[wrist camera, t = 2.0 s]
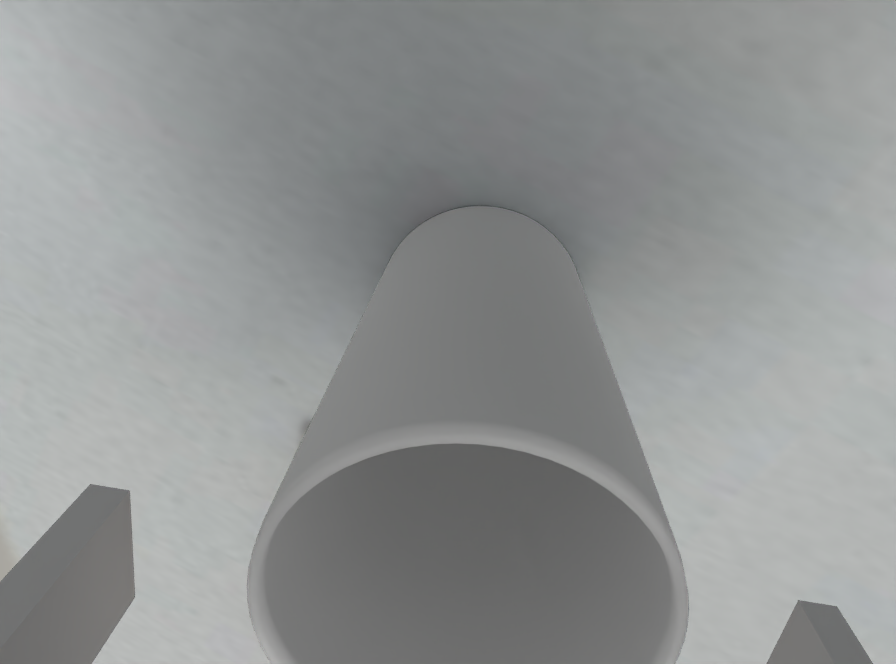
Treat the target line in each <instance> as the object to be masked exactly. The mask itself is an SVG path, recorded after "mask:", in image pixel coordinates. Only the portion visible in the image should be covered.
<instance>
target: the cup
mask: <svg viewBox="0 0 896 664" xmlns="http://www.w3.org/2000/svg"><path fill="white" fill-rule="evenodd" d="M247 600H248V606H249V613H250V617H251V621H252V624H253V628H254V631H255V634H256V636H257V638H258V641H259V643H260V645H261V647H262V649H263V651H264V653H265V655H266V656H267V658H268V660H269V661H270V663H271V664H675V663H676V661H677V659H678V657H679V654H680V652H681V649H682V646H683V643H684V640H685V635H686V631H687V626H688V615H689V600H688V589H687V584H686V579H685V574H684V569H683V564H682V559H681V556H680V553H679V550H678V547H677V544H676V541H675V538H674V536H673V533H672V530H671V527H670V525H669V522H668V519H667V516H666V514H665V511H664V508H663V505H662V503H661V500H660V497H659V494H658V492H657V489H656V486H655V483H654V480H653V478H652V475H651V472H650V469H649V467H648V464H647V461H646V458H645V456H644V453H643V450H642V448H641V445H640V442H639V439H638V437H637V434H636V431H635V428H634V426H633V423H632V420H631V418H630V415H629V412H628V409H627V407H626V404H625V401H624V399H623V396H622V393H621V390H620V388H619V385H618V382H617V379H616V377H615V374H614V371H613V369H612V366H611V363H610V360H609V358H608V355H607V352H606V349H605V347H604V344H603V341H602V339H601V336H600V333H599V330H598V328H597V325H596V322H595V319H594V317H593V314H592V311H591V309H590V306H589V303H588V300H587V298H586V295H585V292H584V290H583V287H582V284H581V281H580V279H579V276H578V273H577V270H576V268H575V265H574V263H573V261H572V259H571V257H570V256H569V254H568V252H567V251H566V249H565V248H564V247H563V245H562V244H561V243H560V241H559V240H558V239H557V238H556V237H555V236H554V235H553V234H552V233H551V232H550V231H548V230H547V229H546V228H545V227H543V226H542V225H541V224H539V223H538V222H536V221H534V220H533V219H531V218H529V217H527V216H525V215H522V214H520V213H518V212H514V211H511V210H508V209H504V208H499V207H491V206H470V207H463V208H457V209H453V210H450V211H447V212H444V213H441V214H439V215H436V216H434V217H433V218H431V219H429V220H427V221H425V222H424V223H422V224H421V225H419V226H418V227H417V228H415V229H414V230H413V231H412V232H411V233H410V234H409V235H408V236H407V237H406V238H405V239H404V240H403V241H402V242H401V243H400V245H399V246H398V247H397V249H396V250H395V252H394V253H393V255H392V257H391V259H390V261H389V262H388V265H387V267H386V269H385V271H384V273H383V275H382V277H381V279H380V281H379V283H378V285H377V287H376V289H375V291H374V293H373V295H372V297H371V300H370V302H369V304H368V306H367V308H366V310H365V312H364V314H363V316H362V318H361V320H360V322H359V324H358V326H357V328H356V330H355V332H354V334H353V337H352V339H351V341H350V343H349V345H348V347H347V349H346V351H345V353H344V355H343V357H342V359H341V361H340V363H339V365H338V367H337V369H336V372H335V374H334V376H333V378H332V380H331V382H330V384H329V386H328V388H327V390H326V392H325V394H324V396H323V398H322V400H321V402H320V404H319V407H318V409H317V411H316V413H315V415H314V417H313V419H312V421H311V423H310V425H309V427H308V429H307V431H306V433H305V435H304V437H303V439H302V441H301V444H300V446H299V448H298V450H297V452H296V454H295V456H294V458H293V460H292V462H291V464H290V466H289V468H288V471H287V473H286V475H285V477H284V479H283V481H282V483H281V485H280V487H279V489H278V491H277V493H276V495H275V498H274V500H273V502H272V504H271V506H270V508H269V510H268V512H267V514H266V516H265V518H264V520H263V523H262V525H261V528H260V531H259V533H258V536H257V539H256V542H255V545H254V549H253V552H252V556H251V560H250V564H249V569H248V579H247Z"/></svg>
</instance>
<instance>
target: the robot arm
mask: <svg viewBox="0 0 896 664" xmlns="http://www.w3.org/2000/svg"><path fill="white" fill-rule="evenodd" d="M134 598H135V584H134V564H133V544H132V524H131V504H130V491H129V490H123V489H117V488H111V487H105V486H99V485H93V484H90V485H89V486H88V487H87V488H86V489H85V491H84V492H83V493H82V494H81V495H80V496H79V497H78V498H77V499H76V500H75V501H74V502H73V504H72V505H71V506H70V507H69V508H68V509H67V510H66V511H65V512H64V513H63V514H62V515H61V517H60V518H59V519H58V520H57V521H56V522H55V523H54V524H53V525H52V526H51V527H50V528H49V530H48V531H47V532H46V533H45V534H44V535H43V536H42V537H41V538H40V539H39V540H38V541H37V542H36V544H35V545H34V546H33V547H32V548H31V549H30V550H29V551H28V552H27V553H26V554H25V555H24V557H23V558H22V559H21V560H20V561H19V562H18V563H17V564H16V565H15V566H14V567H13V568H12V570H11V571H10V572H9V573H8V574H7V575H6V576H5V577H4V578H3V579H2V580H1V582H0V664H92V662H93V661H94V659H95V658H96V656H97V655H98V653H99V652H100V650H101V649H102V647H103V645H104V644H105V642H106V641H107V639H108V638H109V636H110V635H111V633H112V632H113V630H114V629H115V627H116V625H117V624H118V622H119V621H120V619H121V618H122V616H123V615H124V613H125V612H126V610H127V609H128V607H129V605H130V604H131V602H132V601H133V599H134ZM767 664H873V663H872V661H871V660H870V658H869V656H868V655H867V653H866V652H865V650H864V649H863V647H862V645H861V644H860V642H859V641H858V639H857V637H856V636H855V634H854V633H853V631H852V630H851V628H850V626H849V625H848V623H847V622H846V620H845V618H844V617H843V615H842V614H841V612H840V611H839V609H838V607H837V606H831V605H825V604H818V603H812V602H806V601H800V600H798V602H797V604H796V606H795V608H794V610H793V612H792V614H791V616H790V618H789V620H788V622H787V624H786V626H785V628H784V630H783V632H782V634H781V636H780V638H779V640H778V642H777V644H776V646H775V648H774V650H773V652H772V654H771V656H770V658H769V660H768V662H767Z"/></svg>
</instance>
